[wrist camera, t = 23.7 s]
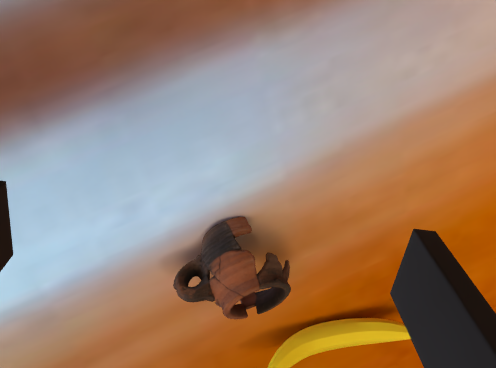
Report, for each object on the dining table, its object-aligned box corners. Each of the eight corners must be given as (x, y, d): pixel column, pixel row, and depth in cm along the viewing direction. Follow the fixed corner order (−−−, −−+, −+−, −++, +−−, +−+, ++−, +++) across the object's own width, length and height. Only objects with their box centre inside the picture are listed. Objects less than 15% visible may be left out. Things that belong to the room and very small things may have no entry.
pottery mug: (269, 201, 47) (301, 268, 43) (269, 245, 55) (296, 307, 50) (158, 236, 45) (177, 310, 41) (174, 277, 53) (192, 344, 48)
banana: (413, 314, 54) (434, 355, 49) (261, 349, 56) (264, 393, 51) (410, 295, 53) (431, 336, 47) (255, 333, 55) (257, 376, 49)
